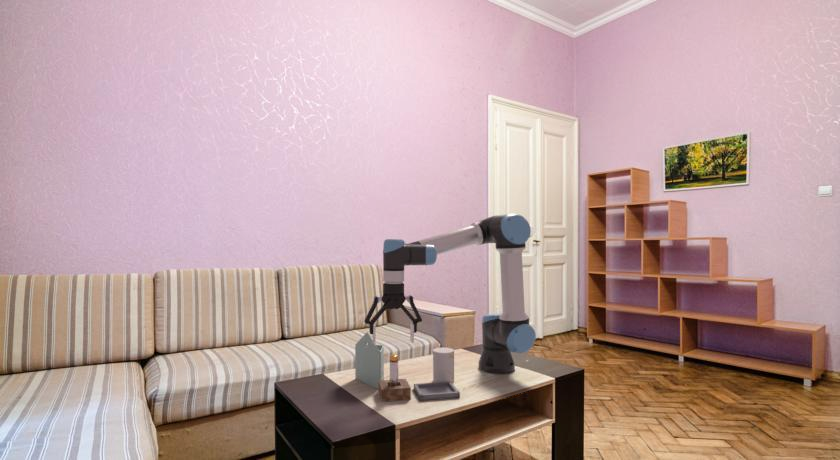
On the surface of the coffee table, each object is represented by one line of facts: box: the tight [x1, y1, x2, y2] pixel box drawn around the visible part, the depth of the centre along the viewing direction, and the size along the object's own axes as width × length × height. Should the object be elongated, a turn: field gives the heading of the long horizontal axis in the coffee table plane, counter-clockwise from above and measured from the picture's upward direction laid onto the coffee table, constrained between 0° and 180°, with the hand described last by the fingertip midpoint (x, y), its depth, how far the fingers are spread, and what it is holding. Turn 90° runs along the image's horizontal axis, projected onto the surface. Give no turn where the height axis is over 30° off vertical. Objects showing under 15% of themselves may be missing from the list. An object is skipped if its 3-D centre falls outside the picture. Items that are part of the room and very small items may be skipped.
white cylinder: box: [432, 347, 455, 384], centre depth 171 cm, size 8×8×12 cm
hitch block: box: [377, 378, 412, 403], centre depth 156 cm, size 10×10×4 cm
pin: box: [389, 354, 399, 386], centre depth 156 cm, size 3×3×14 cm
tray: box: [413, 381, 461, 402], centre depth 158 cm, size 14×12×2 cm
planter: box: [354, 331, 385, 390], centre depth 171 cm, size 16×8×20 cm, turn 41°
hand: (393, 342), depth 156 cm, fingers open, 13 cm apart
